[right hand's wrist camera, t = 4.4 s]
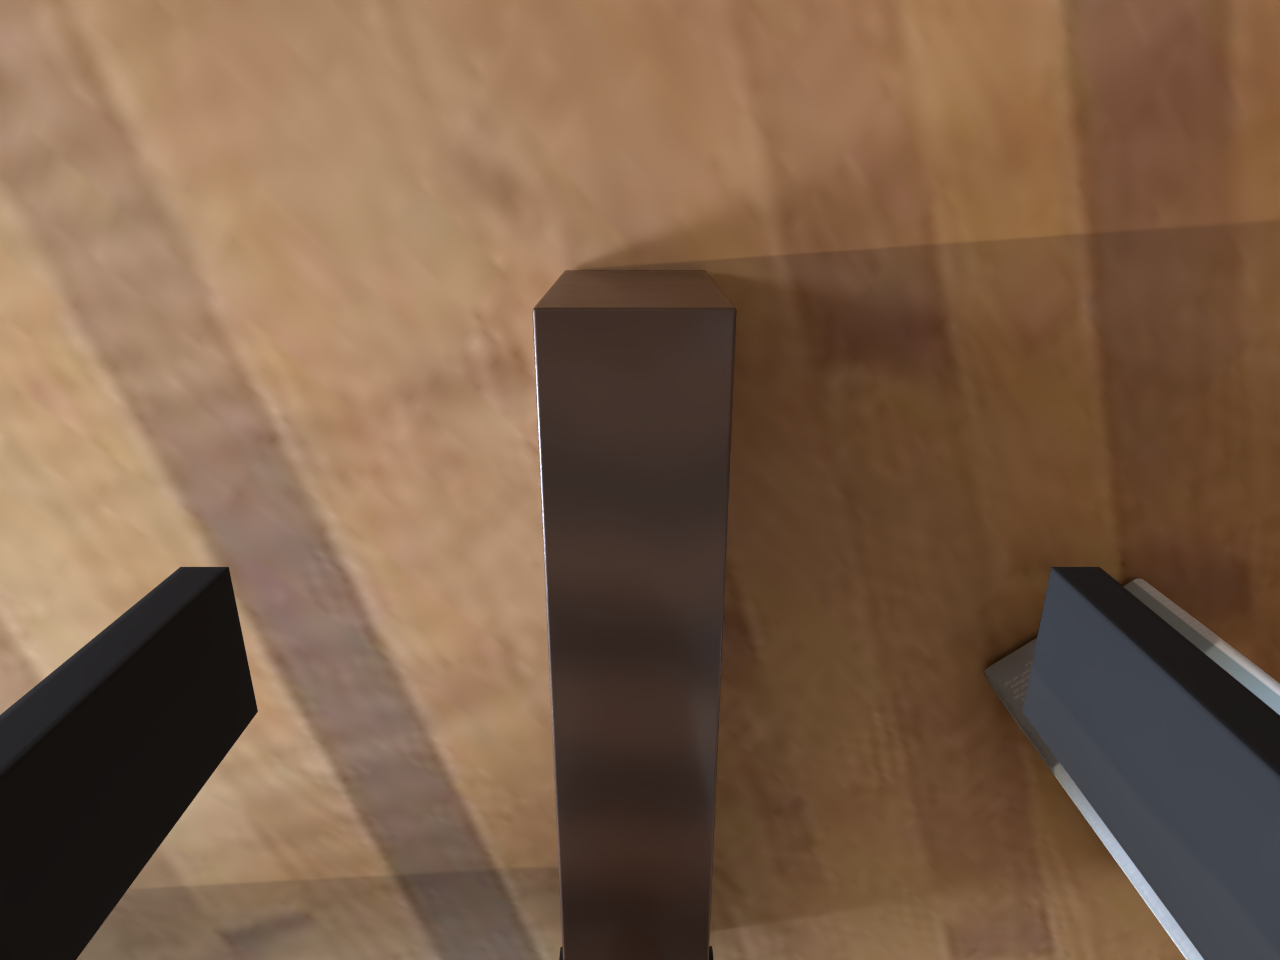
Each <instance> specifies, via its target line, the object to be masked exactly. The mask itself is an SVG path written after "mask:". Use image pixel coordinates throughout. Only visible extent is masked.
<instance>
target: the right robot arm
mask: <svg viewBox="0 0 1280 960" xmlns="http://www.w3.org/2000/svg"><path fill="white" fill-rule="evenodd" d="M257 712H258V710H257V705H256V700H255V695H254V690H253V686H252V681H251V676H250V671H249V666H248V661H247V656H246V651H245V646H244V641H243V636H242V631H241V626H240V621H239V616H238V611H237V606H236V601H235V596H234V591H233V586H232V582H231V577H230V572H229V567H180V568H179V569H178V570H176V571H175V572H174V573H173V574H172V575H170V576H169V577H168V578H167V579H165V580H164V581H163V582H162V583H161V584H159V585H158V586H157V587H156V588H154V589H153V590H152V591H151V592H150V593H148V594H147V595H146V596H145V597H144V598H142V599H141V600H140V601H139V602H137V603H136V604H135V605H134V606H133V607H131V608H130V609H129V610H128V611H126V612H125V613H124V614H123V615H122V616H120V617H119V618H118V619H117V620H116V621H114V622H113V623H112V624H111V625H109V626H108V627H107V628H106V629H105V630H103V631H102V632H101V633H100V634H98V635H97V636H96V637H95V638H94V639H92V640H91V641H90V642H89V643H88V644H86V645H85V646H84V647H83V648H81V649H80V650H79V651H78V652H77V653H75V654H74V655H73V656H72V657H70V658H69V659H68V660H67V661H66V662H64V663H63V664H62V665H61V666H60V667H58V668H57V669H56V670H55V671H53V672H52V673H51V674H50V675H49V676H47V677H46V678H45V679H44V680H42V681H41V682H40V683H39V684H38V685H36V686H35V687H34V688H33V689H32V690H30V691H29V692H28V693H27V694H25V695H24V696H23V697H22V698H21V699H19V700H18V701H17V702H16V703H14V704H13V705H12V706H11V707H10V708H8V709H7V710H6V711H5V712H4V713H2V714H1V715H0V960H76V959H77V958H78V956H79V955H80V954H81V952H82V951H83V949H84V948H85V947H86V945H87V944H88V943H89V941H90V940H91V938H92V937H93V936H94V934H95V933H96V932H97V930H98V929H99V928H100V926H101V925H102V923H103V922H104V921H105V919H106V918H107V917H108V915H109V914H110V913H111V911H112V910H113V908H114V907H115V906H116V904H117V903H118V902H119V900H120V899H121V898H122V896H123V895H124V893H125V892H126V891H127V889H128V888H129V887H130V885H131V884H132V883H133V881H134V880H135V878H136V877H137V876H138V874H139V873H140V872H141V870H142V869H143V868H144V866H145V865H146V863H147V862H148V861H149V859H150V858H151V857H152V855H153V854H154V852H155V851H156V850H157V848H158V847H159V846H160V844H161V843H162V842H163V840H164V839H165V837H166V836H167V835H168V833H169V832H170V831H171V829H172V828H173V827H174V825H175V824H176V822H177V821H178V820H179V818H180V817H181V816H182V814H183V813H184V812H185V810H186V809H187V807H188V806H189V805H190V803H191V802H192V801H193V799H194V798H195V797H196V795H197V794H198V792H199V791H200V790H201V788H202V787H203V786H204V784H205V783H206V781H207V780H208V779H209V777H210V776H211V775H212V773H213V772H214V771H215V769H216V768H217V766H218V765H219V764H220V762H221V761H222V760H223V758H224V757H225V756H226V754H227V753H228V751H229V750H230V749H231V747H232V746H233V745H234V743H235V742H236V741H237V739H238V738H239V736H240V735H241V734H242V732H243V731H244V730H245V728H246V727H247V726H248V724H249V723H250V721H251V720H252V719H253V717H254V716H255V715H256V713H257ZM1022 712H1023V713H1024V715H1025V716H1026V717H1027V719H1028V720H1029V721H1030V723H1031V724H1032V726H1033V727H1034V728H1035V730H1036V731H1037V732H1038V734H1039V735H1040V736H1041V738H1042V739H1043V741H1044V742H1045V743H1046V745H1047V746H1048V747H1049V749H1050V750H1051V751H1052V753H1053V754H1054V756H1055V757H1056V758H1057V760H1058V761H1059V762H1060V764H1061V765H1062V766H1063V768H1064V769H1065V771H1066V772H1067V773H1068V775H1069V776H1070V777H1071V779H1072V780H1073V781H1074V783H1075V784H1076V786H1077V787H1078V788H1079V790H1080V791H1081V792H1082V794H1083V795H1084V797H1085V798H1086V799H1087V801H1088V802H1089V803H1090V805H1091V806H1092V807H1093V809H1094V810H1095V812H1096V813H1097V814H1098V816H1099V817H1100V818H1101V820H1102V821H1103V822H1104V824H1105V825H1106V827H1107V828H1108V829H1109V831H1110V832H1111V833H1112V835H1113V836H1114V837H1115V839H1116V840H1117V842H1118V843H1119V844H1120V846H1121V847H1122V848H1123V850H1124V851H1125V852H1126V854H1127V855H1128V857H1129V858H1130V859H1131V861H1132V862H1133V863H1134V865H1135V866H1136V868H1137V869H1138V870H1139V872H1140V873H1141V874H1142V876H1143V877H1144V878H1145V880H1146V881H1147V883H1148V884H1149V885H1150V887H1151V888H1152V889H1153V891H1154V892H1155V893H1156V895H1157V896H1158V898H1159V899H1160V900H1161V902H1162V903H1163V904H1164V906H1165V907H1166V908H1167V910H1168V911H1169V913H1170V914H1171V915H1172V917H1173V918H1174V919H1175V921H1176V922H1177V923H1178V925H1179V926H1180V928H1181V929H1182V930H1183V932H1184V933H1185V934H1186V936H1187V937H1188V938H1189V940H1190V941H1191V943H1192V944H1193V945H1194V947H1195V948H1196V949H1197V951H1198V952H1199V954H1200V955H1201V956H1202V958H1203V959H1204V960H1280V715H1279V714H1278V713H1276V712H1275V711H1274V710H1273V709H1272V708H1270V707H1269V706H1268V705H1267V704H1266V703H1264V702H1263V701H1262V700H1261V699H1259V698H1258V697H1257V696H1256V695H1255V694H1253V693H1252V692H1251V691H1250V690H1248V689H1247V688H1246V687H1245V686H1244V685H1242V684H1241V683H1240V682H1239V681H1238V680H1236V679H1235V678H1234V677H1233V676H1231V675H1230V674H1229V673H1228V672H1227V671H1225V670H1224V669H1223V668H1222V667H1220V666H1219V665H1218V664H1217V663H1216V662H1214V661H1213V660H1212V659H1211V658H1210V657H1208V656H1207V655H1206V654H1205V653H1203V652H1202V651H1201V650H1200V649H1199V648H1197V647H1196V646H1195V645H1194V644H1192V643H1191V642H1190V641H1189V640H1188V639H1186V638H1185V637H1184V636H1183V635H1182V634H1180V633H1179V632H1178V631H1177V630H1175V629H1174V628H1173V627H1172V626H1171V625H1169V624H1168V623H1167V622H1166V621H1164V620H1163V619H1162V618H1161V617H1160V616H1158V615H1157V614H1156V613H1155V612H1154V611H1152V610H1151V609H1150V608H1149V607H1147V606H1146V605H1145V604H1144V603H1143V602H1141V601H1140V600H1139V599H1138V598H1136V597H1135V596H1134V595H1133V594H1132V593H1130V592H1129V591H1128V590H1127V589H1126V588H1124V587H1123V586H1122V585H1121V584H1119V583H1118V582H1117V581H1116V580H1115V579H1113V578H1112V577H1111V576H1110V575H1108V574H1107V573H1106V572H1105V571H1104V570H1102V569H1101V568H1100V567H1051V572H1050V577H1049V582H1048V586H1047V591H1046V596H1045V601H1044V606H1043V611H1042V616H1041V621H1040V626H1039V631H1038V636H1037V641H1036V646H1035V651H1034V656H1033V661H1032V666H1031V671H1030V676H1029V681H1028V686H1027V690H1026V695H1025V700H1024V705H1023V710H1022Z"/></svg>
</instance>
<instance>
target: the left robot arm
mask: <svg viewBox="0 0 1280 960" xmlns="http://www.w3.org/2000/svg"><path fill="white" fill-rule="evenodd" d="M559 960H563V947H561V949H560V958H559ZM709 960H713V951H712V946H709Z"/></svg>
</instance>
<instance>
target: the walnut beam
mask: <svg viewBox="0 0 1280 960" xmlns="http://www.w3.org/2000/svg"><path fill="white" fill-rule="evenodd" d="M532 312H533V333H534V354H535V375H536V396H537V418H538V439H539V460H540V481H541V502H542V523H543V544H544V565H545V586H546V607H547V628H548V649H549V670H550V691H551V713H552V734H553V755H554V776H555V797H556V818H557V839H558V860H559V881H560V902H561V923H562V944H563V960H709V939H710V916H711V893H712V869H713V846H714V823H715V800H716V776H717V753H718V730H719V706H720V683H721V660H722V637H723V613H724V590H725V567H726V543H727V520H728V497H729V474H730V450H731V427H732V404H733V380H734V357H735V334H736V308H735V307H734V306H733V305H732V303H731V302H730V301H729V300H728V298H727V297H726V296H725V295H724V293H723V292H722V291H721V290H720V288H719V287H718V286H717V285H716V283H715V282H714V281H713V279H712V278H711V277H710V276H709V274H708V273H707V272H706V271H704V270H615V271H564V273H563V274H562V275H561V276H560V277H559V279H558V280H557V281H556V282H555V283H554V285H553V286H552V287H551V288H550V289H549V291H548V292H547V293H546V294H545V295H544V296H543V298H542V299H541V300H540V301H539V302H538V304H537V305H536V306H535V307H534V308H533V311H532Z"/></svg>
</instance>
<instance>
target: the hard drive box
mask: <svg viewBox="0 0 1280 960" xmlns="http://www.w3.org/2000/svg"><path fill="white" fill-rule="evenodd" d="M1123 587H1124V588H1126V589H1127V590H1128V591H1129V592H1130V593H1132V594H1133V595H1134V596H1135V597H1136V598H1138V599H1139V600H1140V601H1141V602H1143V603H1144V604H1145V605H1146V606H1147V607H1149V608H1150V609H1151V610H1152V611H1154V612H1155V613H1156V614H1157V615H1158V616H1160V617H1161V618H1162V619H1163V620H1164V621H1166V622H1167V623H1168V624H1169V625H1171V626H1172V627H1173V628H1174V629H1175V630H1177V631H1178V632H1179V633H1180V634H1182V635H1183V636H1184V637H1185V638H1186V639H1188V640H1189V641H1190V642H1191V643H1192V644H1194V645H1195V646H1196V647H1197V648H1199V649H1200V650H1201V651H1202V652H1203V653H1205V654H1206V655H1207V656H1208V657H1210V658H1211V659H1212V660H1213V661H1214V662H1216V663H1217V664H1218V665H1219V666H1220V667H1222V668H1223V669H1224V670H1225V671H1227V672H1228V673H1229V674H1230V675H1231V676H1233V677H1234V678H1235V679H1236V680H1238V681H1239V682H1240V683H1241V684H1242V685H1244V686H1245V687H1246V688H1247V689H1248V690H1250V691H1251V692H1252V693H1253V694H1255V695H1256V696H1257V697H1258V698H1259V699H1261V700H1262V701H1263V702H1264V703H1266V704H1267V705H1268V706H1269V707H1270V708H1272V709H1273V710H1274V711H1275V712H1276V713H1278V714H1279V715H1280V683H1279V682H1277V681H1276V680H1275V679H1273V678H1272V677H1271V676H1269V675H1268V674H1267V673H1265V672H1264V671H1263V670H1262V669H1260V668H1259V667H1258V666H1256V665H1255V664H1254V663H1252V662H1251V661H1250V660H1249V659H1247V658H1246V657H1245V656H1243V655H1242V654H1241V653H1239V652H1238V651H1237V650H1236V649H1234V648H1233V647H1232V646H1230V645H1229V644H1228V643H1226V642H1225V641H1224V640H1222V639H1221V638H1220V637H1218V636H1217V635H1216V634H1214V633H1213V632H1212V631H1210V630H1209V629H1208V628H1207V627H1205V626H1204V625H1203V624H1201V623H1200V622H1199V621H1197V620H1196V619H1195V618H1193V617H1192V616H1191V615H1189V614H1188V613H1187V612H1185V611H1184V610H1183V609H1181V608H1180V607H1179V606H1177V605H1176V604H1175V603H1173V602H1172V601H1171V600H1169V599H1168V598H1167V597H1165V596H1164V595H1163V594H1162V593H1160V592H1159V591H1158V590H1156V589H1155V588H1154V587H1152V586H1151V585H1150V584H1148V583H1147V582H1146V581H1144V580H1143V579H1139V578H1138V579H1134V580H1133V581H1131V582H1129V583H1127V584H1126V585H1124V586H1123ZM1036 641H1037V638H1035V639H1034V640H1032V641H1030V642H1029V643H1027V644H1026V645H1024V646H1022V647H1021V648H1019V649H1018V650H1016V651H1014V652H1013V653H1011V654H1009V655H1007V656H1006V657H1004V658H1002V659H1001V660H999V661H997V662H996V663H994V664H993V665H991V666H989V667H988V668H987V669H986V670H985V671H984V672H985V676H986V678H987V680H988V682H989V683H990V685H991V686H992V688H993V689H994V691H995V692H996V694H997V695H998V697H999V698H1000V700H1001V701H1002V702H1003V704H1004V705H1005V707H1006V708H1007V710H1008V711H1009V712H1010V714H1011V715H1012V717H1013V718H1014V720H1015V721H1016V722H1017V724H1018V725H1019V727H1020V728H1021V730H1022V731H1023V732H1024V734H1025V735H1026V736H1027V738H1028V739H1029V741H1030V742H1031V743H1032V745H1033V746H1034V748H1035V749H1036V750H1037V752H1038V753H1039V754H1040V756H1041V757H1042V759H1043V760H1044V761H1045V763H1046V764H1047V766H1048V767H1049V768H1050V770H1051V771H1052V773H1053V774H1054V775H1055V777H1056V778H1057V780H1058V781H1059V782H1060V784H1061V785H1062V786H1063V788H1064V789H1065V791H1066V792H1067V793H1068V795H1069V796H1070V798H1071V799H1072V800H1073V802H1074V803H1075V805H1076V806H1077V807H1078V809H1079V810H1080V812H1081V813H1082V814H1083V816H1084V817H1085V819H1086V820H1087V821H1088V823H1089V824H1090V826H1091V827H1092V828H1093V830H1094V831H1095V832H1096V834H1097V835H1098V837H1099V838H1100V839H1101V841H1102V842H1103V844H1104V845H1105V846H1106V848H1107V849H1108V851H1109V852H1110V853H1111V855H1112V856H1113V858H1114V859H1115V860H1116V862H1117V863H1118V864H1119V866H1120V867H1121V869H1122V870H1123V871H1124V873H1125V874H1126V876H1127V877H1128V878H1129V880H1130V881H1131V883H1132V884H1133V885H1134V887H1135V888H1136V890H1137V891H1138V892H1139V894H1140V895H1141V897H1142V898H1143V899H1144V901H1145V902H1146V904H1147V905H1148V906H1149V908H1150V909H1151V911H1152V912H1153V913H1154V915H1155V916H1156V918H1157V919H1158V920H1159V922H1160V923H1161V925H1162V926H1163V927H1164V929H1165V930H1166V932H1167V933H1168V934H1169V936H1170V937H1171V939H1172V940H1173V941H1174V943H1175V944H1176V946H1177V947H1178V948H1179V950H1180V951H1181V953H1182V954H1183V955H1184V957H1185V958H1186V960H1204V959H1203V958H1202V956H1201V955H1200V954H1199V952H1198V951H1197V949H1196V948H1195V947H1194V945H1193V944H1192V943H1191V941H1190V940H1189V938H1188V937H1187V936H1186V934H1185V933H1184V932H1183V930H1182V929H1181V928H1180V926H1179V925H1178V923H1177V922H1176V921H1175V919H1174V918H1173V917H1172V915H1171V914H1170V913H1169V911H1168V910H1167V908H1166V907H1165V906H1164V904H1163V903H1162V902H1161V900H1160V899H1159V898H1158V896H1157V895H1156V893H1155V892H1154V891H1153V889H1152V888H1151V887H1150V885H1149V884H1148V883H1147V881H1146V880H1145V878H1144V877H1143V876H1142V874H1141V873H1140V872H1139V870H1138V869H1137V868H1136V866H1135V865H1134V863H1133V862H1132V861H1131V859H1130V858H1129V857H1128V855H1127V854H1126V852H1125V851H1124V850H1123V848H1122V847H1121V846H1120V844H1119V843H1118V842H1117V840H1116V839H1115V837H1114V836H1113V835H1112V833H1111V832H1110V831H1109V829H1108V828H1107V827H1106V825H1105V824H1104V822H1103V821H1102V820H1101V818H1100V817H1099V816H1098V814H1097V813H1096V812H1095V810H1094V809H1093V807H1092V806H1091V805H1090V803H1089V802H1088V801H1087V799H1086V798H1085V797H1084V795H1083V794H1082V792H1081V791H1080V790H1079V788H1078V787H1077V786H1076V784H1075V783H1074V781H1073V780H1072V779H1071V777H1070V776H1069V775H1068V773H1067V772H1066V771H1065V769H1064V768H1063V766H1062V765H1061V764H1060V762H1059V761H1058V760H1057V758H1056V757H1055V756H1054V754H1053V753H1052V751H1051V750H1050V749H1049V747H1048V746H1047V745H1046V743H1045V742H1044V741H1043V739H1042V738H1041V736H1040V735H1039V734H1038V732H1037V731H1036V730H1035V728H1034V727H1033V726H1032V724H1031V723H1030V721H1029V720H1028V719H1027V717H1026V716H1025V715H1024V713H1023V712H1022V710H1023V705H1024V700H1025V695H1026V690H1027V686H1028V681H1029V676H1030V671H1031V666H1032V661H1033V656H1034V651H1035V646H1036Z"/></svg>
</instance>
